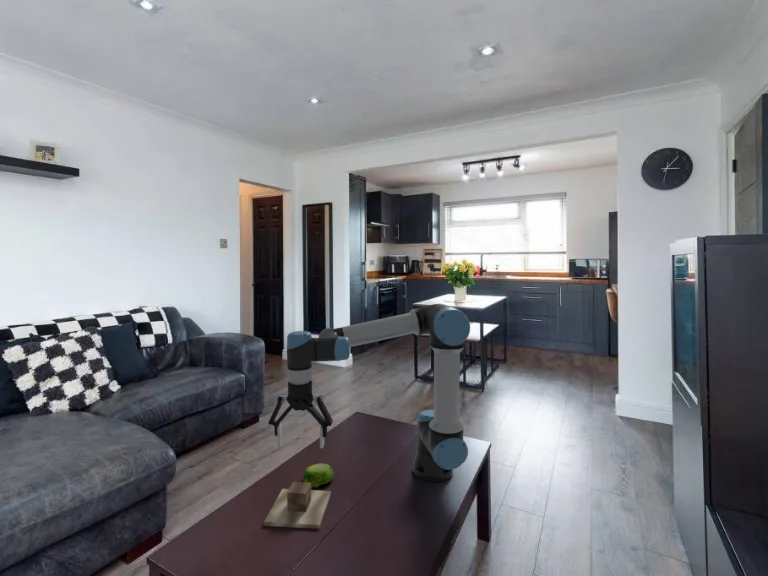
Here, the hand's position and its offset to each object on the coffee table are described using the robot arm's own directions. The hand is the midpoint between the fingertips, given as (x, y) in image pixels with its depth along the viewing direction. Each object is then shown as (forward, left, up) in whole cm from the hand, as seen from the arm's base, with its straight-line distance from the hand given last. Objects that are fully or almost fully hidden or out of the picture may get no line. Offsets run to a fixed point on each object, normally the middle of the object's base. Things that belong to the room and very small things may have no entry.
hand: (301, 445), depth 124 cm
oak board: (+1, +1, -21) cm, 21 cm away
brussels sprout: (-1, -17, -21) cm, 27 cm away
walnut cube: (+1, +1, -20) cm, 20 cm away
